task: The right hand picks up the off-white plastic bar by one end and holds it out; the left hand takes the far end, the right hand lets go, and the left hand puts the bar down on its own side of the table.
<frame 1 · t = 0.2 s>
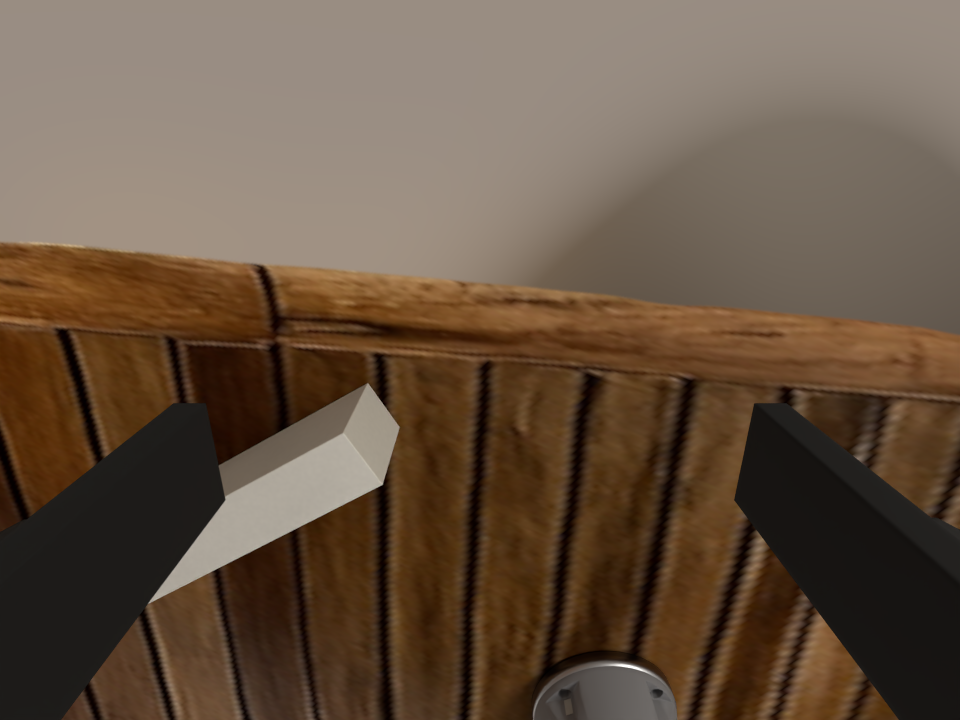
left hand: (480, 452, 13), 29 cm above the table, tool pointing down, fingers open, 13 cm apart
bar: (270, 467, 47), on the table
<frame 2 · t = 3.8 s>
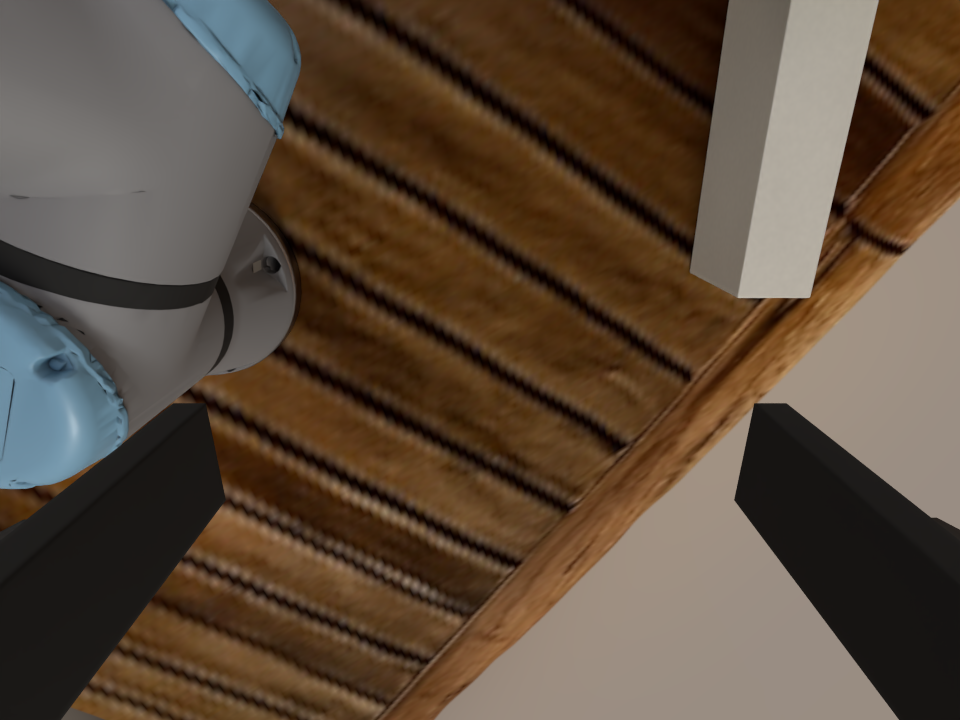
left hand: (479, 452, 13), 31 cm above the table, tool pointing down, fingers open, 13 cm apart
bar: (746, 106, 38), on the table, touching right hand
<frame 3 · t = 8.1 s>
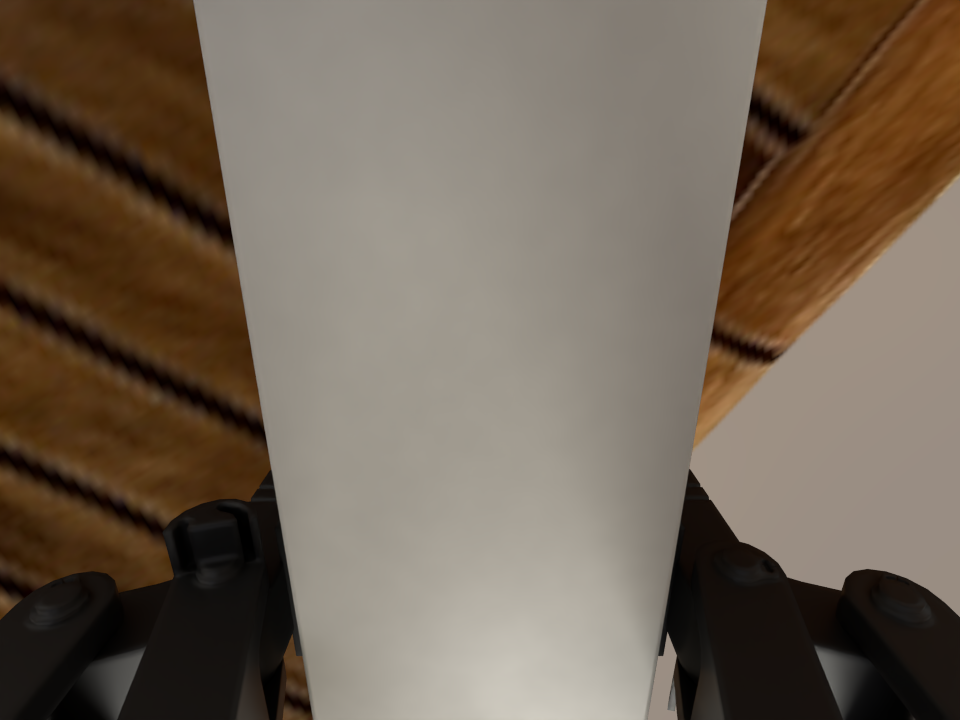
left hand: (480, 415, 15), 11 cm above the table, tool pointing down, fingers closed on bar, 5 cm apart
bar: (479, 93, 12), point 10 cm above the table, touching left hand, right hand
when the right hand's fingers open (14 cm above the table, at t = 9.0 s): bar stays where it is, held by the left hand.
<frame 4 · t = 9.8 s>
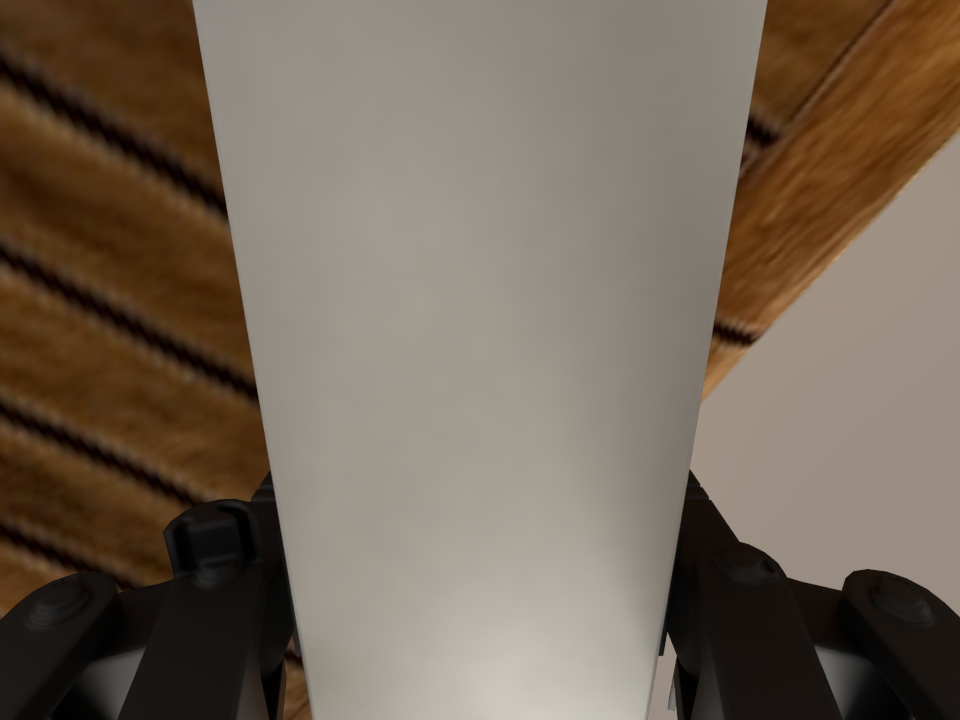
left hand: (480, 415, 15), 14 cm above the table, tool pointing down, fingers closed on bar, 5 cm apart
bar: (479, 93, 12), point 13 cm above the table, touching left hand
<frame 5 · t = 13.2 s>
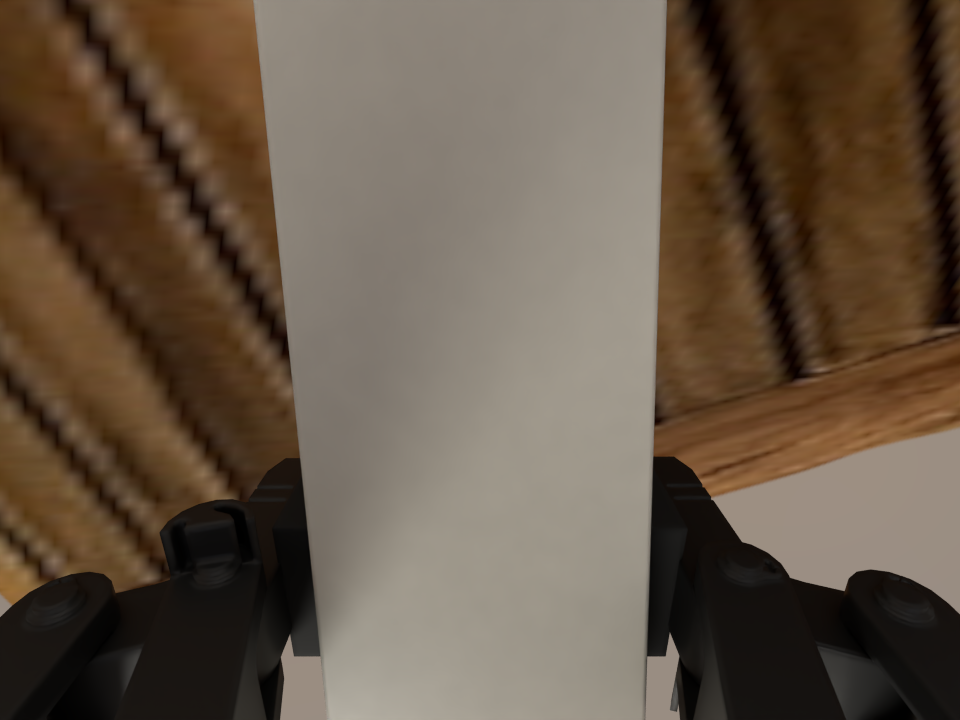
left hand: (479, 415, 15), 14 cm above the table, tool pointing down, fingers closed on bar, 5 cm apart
bar: (471, 110, 14), point 12 cm above the table, tilted 11°, touching left hand
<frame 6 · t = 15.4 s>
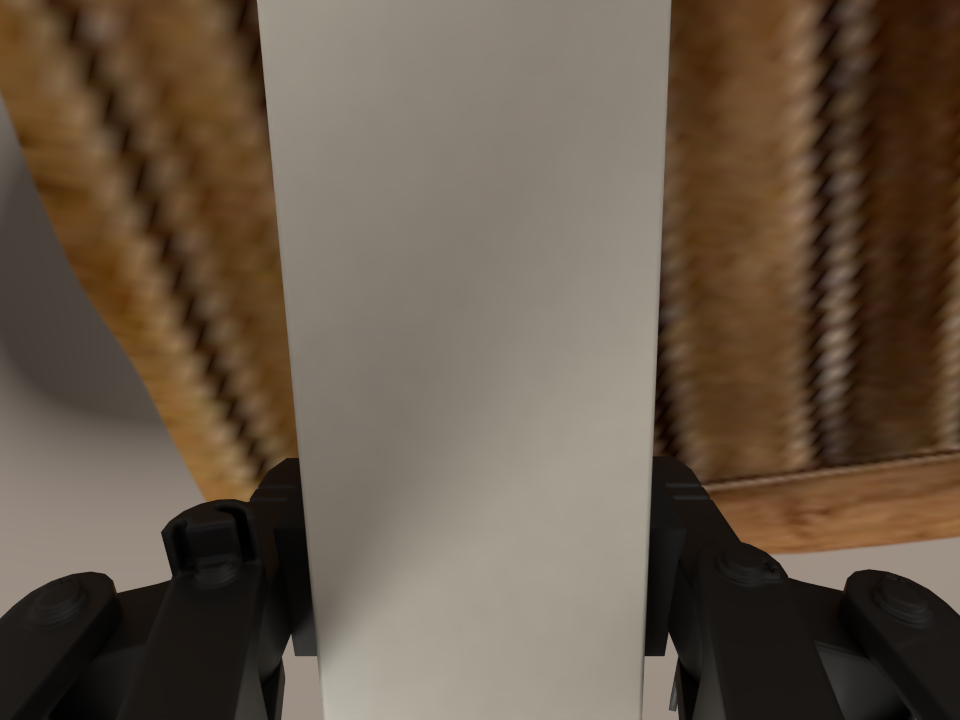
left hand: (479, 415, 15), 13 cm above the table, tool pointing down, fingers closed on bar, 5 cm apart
bar: (473, 113, 14), point 11 cm above the table, tilted 10°, touching left hand
when the left hand's fingers open (2 cm above the table, at t = 16.8 s): bar stays where it is, on the table.
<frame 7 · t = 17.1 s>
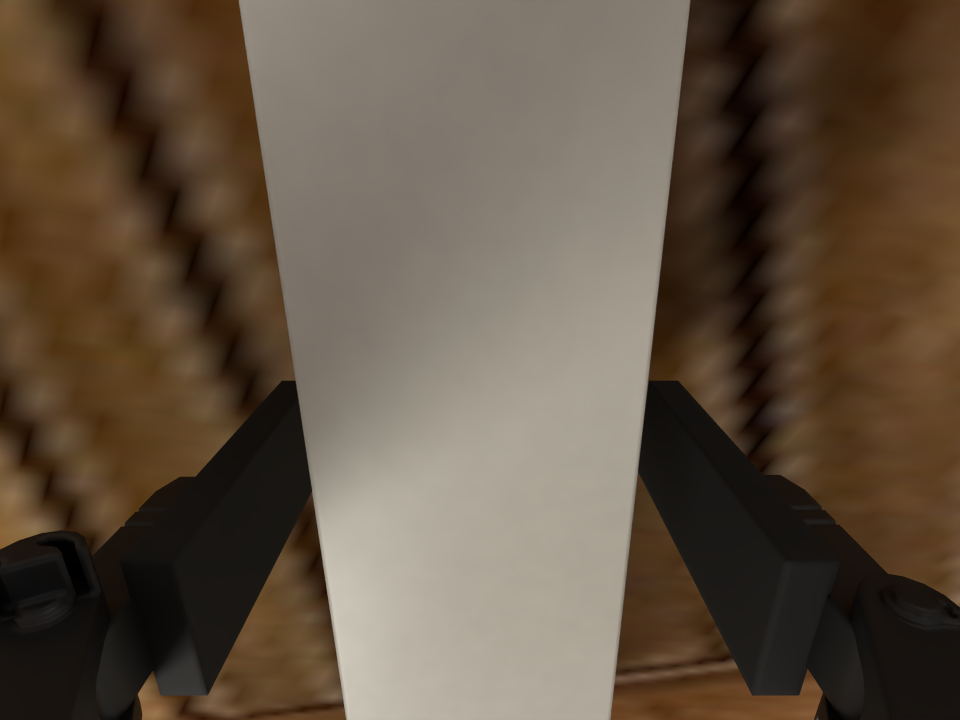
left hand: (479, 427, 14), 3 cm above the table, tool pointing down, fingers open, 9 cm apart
bar: (473, 91, 13), on the table
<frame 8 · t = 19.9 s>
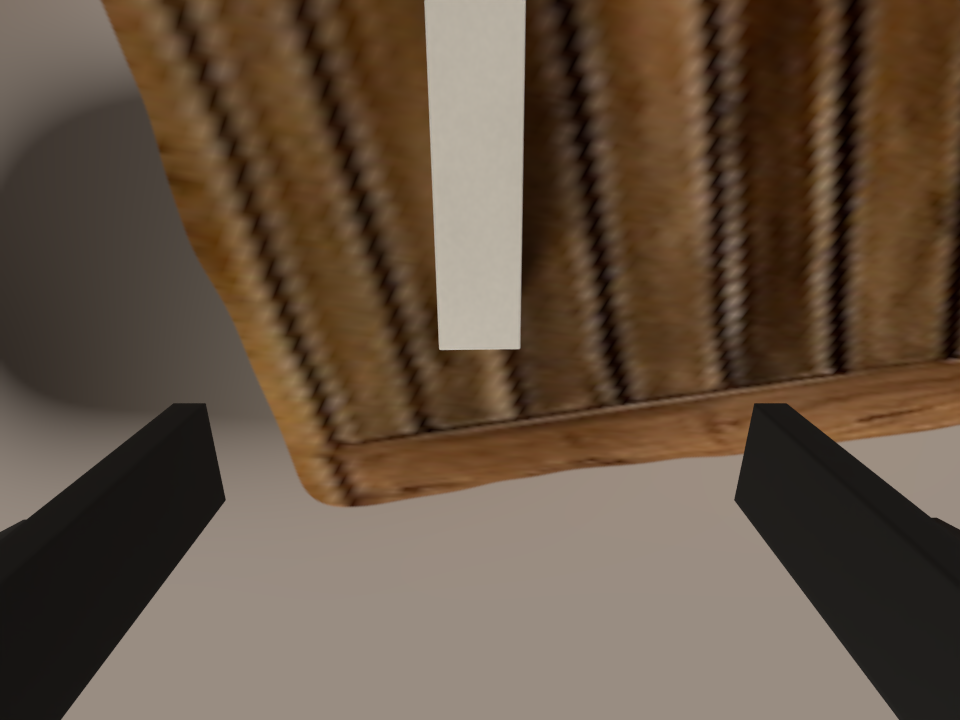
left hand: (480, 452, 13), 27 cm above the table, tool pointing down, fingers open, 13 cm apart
bar: (477, 134, 35), on the table
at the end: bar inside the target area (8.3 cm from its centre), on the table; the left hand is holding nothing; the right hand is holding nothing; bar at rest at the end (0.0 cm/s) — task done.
